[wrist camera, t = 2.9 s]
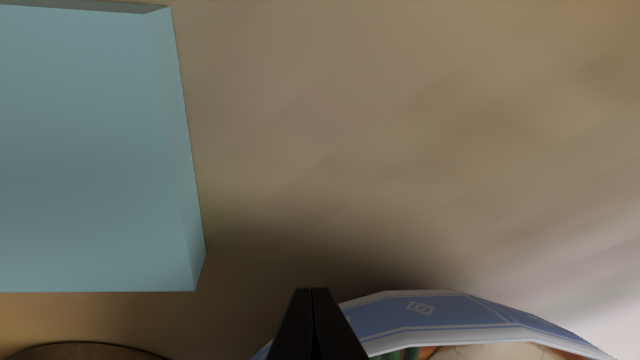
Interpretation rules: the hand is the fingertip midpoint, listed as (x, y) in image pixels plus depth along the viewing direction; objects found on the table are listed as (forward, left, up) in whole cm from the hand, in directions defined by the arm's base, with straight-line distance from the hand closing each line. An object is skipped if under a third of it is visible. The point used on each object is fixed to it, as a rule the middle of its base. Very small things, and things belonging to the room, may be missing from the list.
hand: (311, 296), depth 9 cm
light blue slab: (+10, 0, -8) cm, 13 cm away
